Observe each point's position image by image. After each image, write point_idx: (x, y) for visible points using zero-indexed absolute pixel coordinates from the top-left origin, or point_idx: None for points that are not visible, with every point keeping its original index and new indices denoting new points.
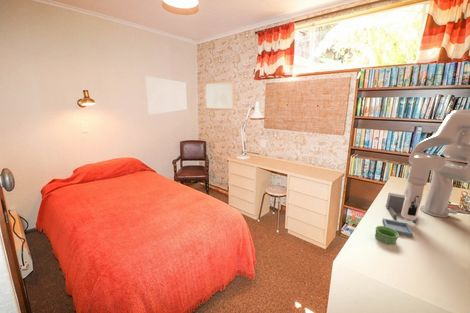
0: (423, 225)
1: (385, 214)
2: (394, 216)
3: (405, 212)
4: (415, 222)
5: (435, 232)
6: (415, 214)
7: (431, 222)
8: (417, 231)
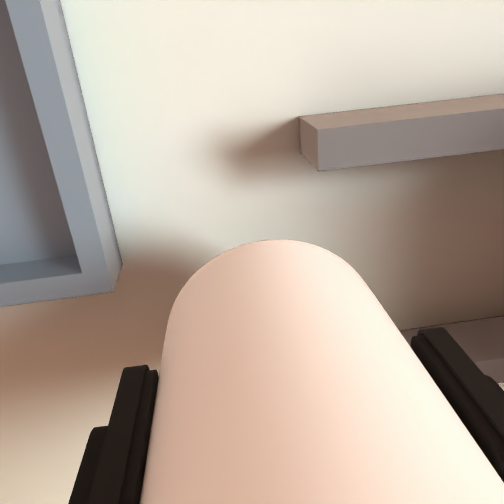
0: None
1: (408, 4)
2: (308, 136)
3: (182, 338)
4: None
5: None
6: None
7: None
8: (79, 363)
